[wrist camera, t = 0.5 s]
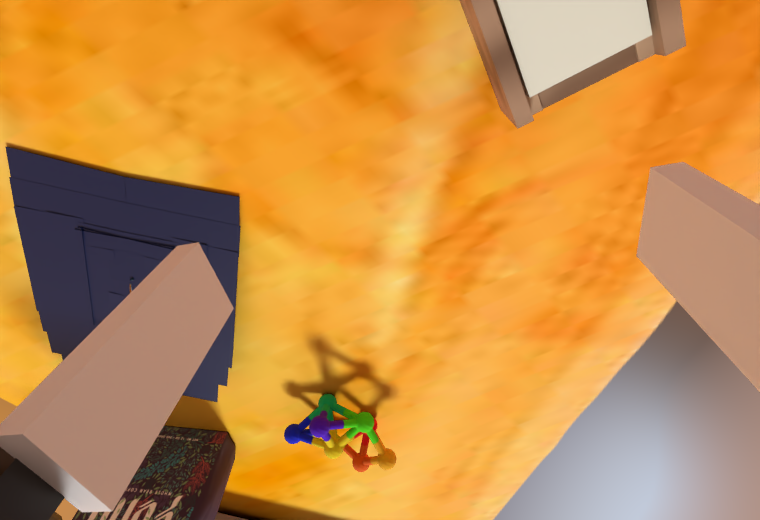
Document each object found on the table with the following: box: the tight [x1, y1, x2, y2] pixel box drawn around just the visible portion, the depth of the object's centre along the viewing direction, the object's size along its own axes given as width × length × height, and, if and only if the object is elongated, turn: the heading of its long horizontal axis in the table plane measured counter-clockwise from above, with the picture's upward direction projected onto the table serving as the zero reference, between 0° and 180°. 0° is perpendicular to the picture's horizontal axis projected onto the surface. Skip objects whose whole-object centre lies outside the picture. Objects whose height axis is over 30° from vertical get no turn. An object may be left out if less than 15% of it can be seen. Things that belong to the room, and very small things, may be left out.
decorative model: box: [284, 394, 396, 472], centre depth 55 cm, size 13×9×15 cm
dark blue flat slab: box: [6, 147, 240, 402], centre depth 47 cm, size 24×30×4 cm
